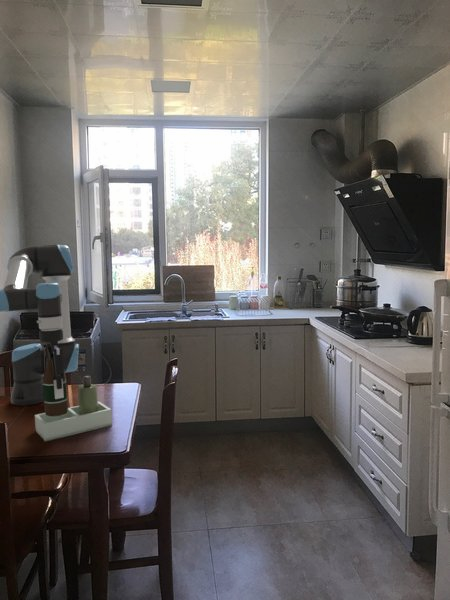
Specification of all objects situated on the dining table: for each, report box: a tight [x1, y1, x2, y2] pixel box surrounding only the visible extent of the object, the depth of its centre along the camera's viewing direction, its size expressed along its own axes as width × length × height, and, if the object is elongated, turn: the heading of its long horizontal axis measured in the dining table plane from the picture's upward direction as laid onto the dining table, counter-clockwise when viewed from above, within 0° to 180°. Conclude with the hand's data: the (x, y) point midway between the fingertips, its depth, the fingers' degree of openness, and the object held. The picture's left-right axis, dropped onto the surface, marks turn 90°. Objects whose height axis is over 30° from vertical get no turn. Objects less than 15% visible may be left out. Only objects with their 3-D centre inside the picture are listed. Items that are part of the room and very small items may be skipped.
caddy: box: [34, 401, 113, 442], centre depth 172 cm, size 12×23×6 cm, turn 125°
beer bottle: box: [43, 344, 69, 416], centre depth 167 cm, size 8×8×24 cm
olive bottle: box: [77, 375, 99, 415], centre depth 175 cm, size 6×6×17 cm
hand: (55, 395), depth 168 cm, fingers closed on beer bottle, 8 cm apart
